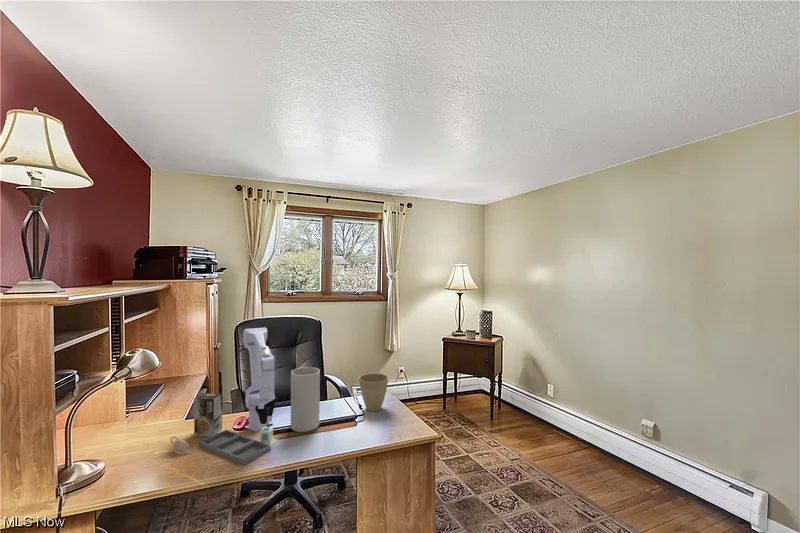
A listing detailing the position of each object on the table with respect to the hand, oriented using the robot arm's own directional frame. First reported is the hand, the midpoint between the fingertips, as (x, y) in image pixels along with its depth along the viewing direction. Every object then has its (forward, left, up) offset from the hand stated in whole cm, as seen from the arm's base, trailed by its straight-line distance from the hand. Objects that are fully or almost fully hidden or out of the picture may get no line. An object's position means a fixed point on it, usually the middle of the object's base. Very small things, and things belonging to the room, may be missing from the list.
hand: (266, 419), depth 150 cm
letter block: (0, 0, -9) cm, 9 cm away
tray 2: (+10, -6, -9) cm, 15 cm away
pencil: (+26, -5, -10) cm, 28 cm away
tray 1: (+10, -16, -9) cm, 21 cm away
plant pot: (-52, +18, -10) cm, 56 cm away
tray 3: (+10, +3, -9) cm, 14 cm away
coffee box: (+7, -28, -10) cm, 30 cm away
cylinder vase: (-19, +3, -10) cm, 21 cm away
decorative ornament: (+22, -22, -10) cm, 33 cm away
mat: (0, 0, -9) cm, 9 cm away
